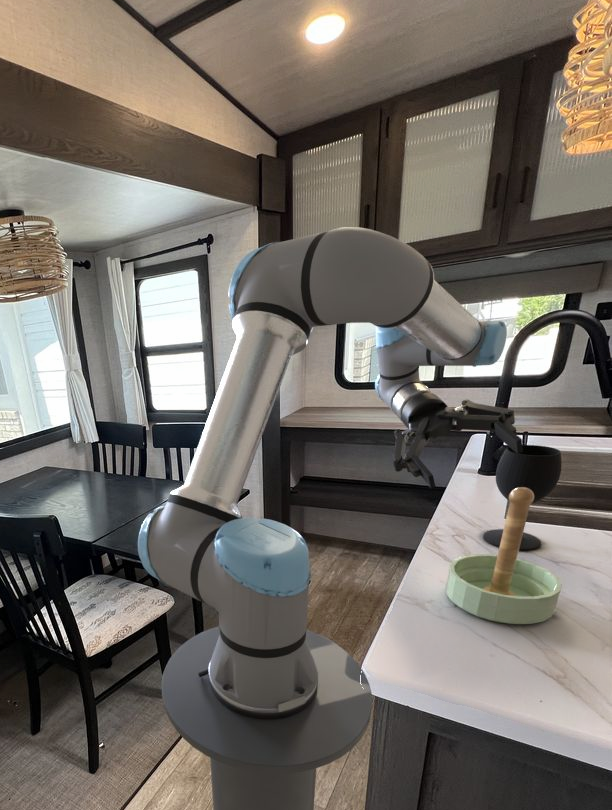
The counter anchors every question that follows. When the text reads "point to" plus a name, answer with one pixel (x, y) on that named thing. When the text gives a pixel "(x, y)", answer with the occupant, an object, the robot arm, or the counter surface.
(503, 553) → the wooden pestle
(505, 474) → the wine glass
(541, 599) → the bowl
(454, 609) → the counter surface
